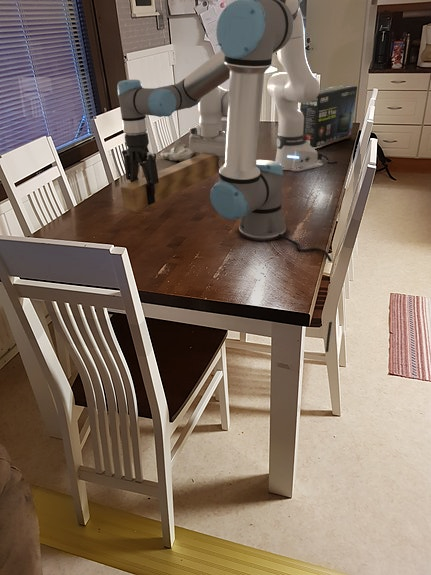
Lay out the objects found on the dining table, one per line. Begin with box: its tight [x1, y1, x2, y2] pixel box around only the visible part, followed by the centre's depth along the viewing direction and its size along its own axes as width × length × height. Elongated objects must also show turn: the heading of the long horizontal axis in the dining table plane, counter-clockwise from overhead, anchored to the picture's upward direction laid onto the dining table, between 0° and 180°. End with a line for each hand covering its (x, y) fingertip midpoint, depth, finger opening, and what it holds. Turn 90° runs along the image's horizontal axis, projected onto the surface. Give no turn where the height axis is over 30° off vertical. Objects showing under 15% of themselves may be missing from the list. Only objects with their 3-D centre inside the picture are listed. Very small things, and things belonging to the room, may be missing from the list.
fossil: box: [160, 142, 198, 163], centre depth 229 cm, size 18×11×15 cm
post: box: [120, 153, 225, 213], centre depth 171 cm, size 55×6×8 cm, turn 144°
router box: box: [299, 84, 358, 147], centre depth 238 cm, size 36×11×27 cm, turn 134°
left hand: (145, 201), depth 159 cm, fingers closed on post, 6 cm apart
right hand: (212, 165), depth 185 cm, fingers closed on post, 5 cm apart
